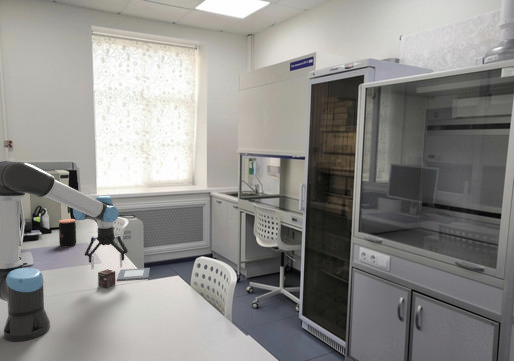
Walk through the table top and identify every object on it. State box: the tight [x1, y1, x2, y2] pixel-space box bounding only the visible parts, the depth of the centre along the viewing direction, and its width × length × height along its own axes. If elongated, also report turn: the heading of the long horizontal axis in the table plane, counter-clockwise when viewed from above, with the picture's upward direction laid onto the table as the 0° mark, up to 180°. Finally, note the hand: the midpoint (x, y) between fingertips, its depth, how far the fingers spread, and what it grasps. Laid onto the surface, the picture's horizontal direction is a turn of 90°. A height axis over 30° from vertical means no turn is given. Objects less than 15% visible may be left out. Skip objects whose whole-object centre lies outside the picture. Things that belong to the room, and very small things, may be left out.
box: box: [97, 269, 116, 289], centre depth 190 cm, size 6×6×7 cm
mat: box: [116, 267, 151, 282], centre depth 207 cm, size 16×16×1 cm
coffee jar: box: [58, 218, 77, 247], centre depth 265 cm, size 11×11×18 cm
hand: (107, 267), depth 190 cm, fingers open, 13 cm apart
